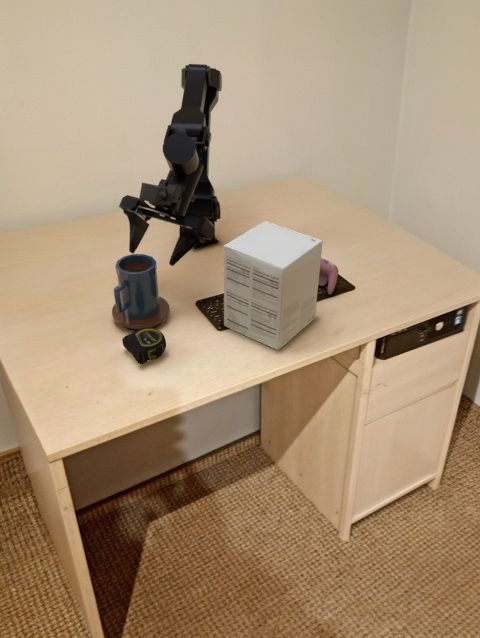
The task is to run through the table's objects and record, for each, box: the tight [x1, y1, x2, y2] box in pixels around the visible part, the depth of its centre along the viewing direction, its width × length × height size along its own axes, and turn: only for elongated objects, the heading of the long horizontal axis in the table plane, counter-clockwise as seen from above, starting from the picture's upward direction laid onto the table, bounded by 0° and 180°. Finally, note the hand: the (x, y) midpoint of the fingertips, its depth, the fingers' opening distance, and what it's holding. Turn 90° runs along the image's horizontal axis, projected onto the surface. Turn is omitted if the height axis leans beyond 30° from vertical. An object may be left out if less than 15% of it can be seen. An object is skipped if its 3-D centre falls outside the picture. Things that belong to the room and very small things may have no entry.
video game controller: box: [318, 257, 339, 295], centre depth 129 cm, size 10×5×7 cm, turn 71°
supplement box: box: [223, 220, 324, 351], centre depth 114 cm, size 13×13×18 cm
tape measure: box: [121, 328, 167, 366], centre depth 109 cm, size 7×7×4 cm
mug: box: [111, 253, 171, 329], centre depth 115 cm, size 12×11×11 cm
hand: (150, 258), depth 115 cm, fingers open, 9 cm apart
